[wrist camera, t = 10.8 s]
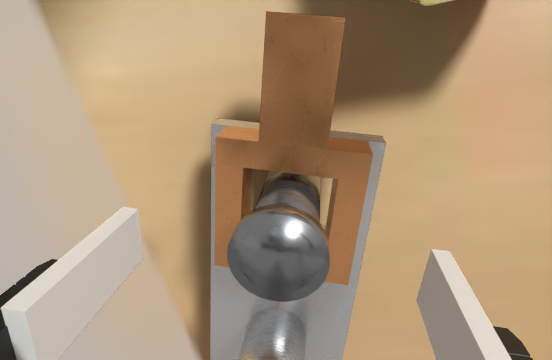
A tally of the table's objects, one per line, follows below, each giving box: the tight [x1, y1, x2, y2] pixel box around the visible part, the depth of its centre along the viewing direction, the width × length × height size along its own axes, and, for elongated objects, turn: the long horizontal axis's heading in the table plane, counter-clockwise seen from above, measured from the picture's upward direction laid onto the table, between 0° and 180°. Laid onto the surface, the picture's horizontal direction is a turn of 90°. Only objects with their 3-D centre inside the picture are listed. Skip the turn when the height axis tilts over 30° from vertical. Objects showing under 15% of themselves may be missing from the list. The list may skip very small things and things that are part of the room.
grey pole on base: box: [210, 11, 386, 360], centre depth 19 cm, size 26×10×24 cm, turn 176°
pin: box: [227, 171, 330, 302], centre depth 22 cm, size 5×5×14 cm
